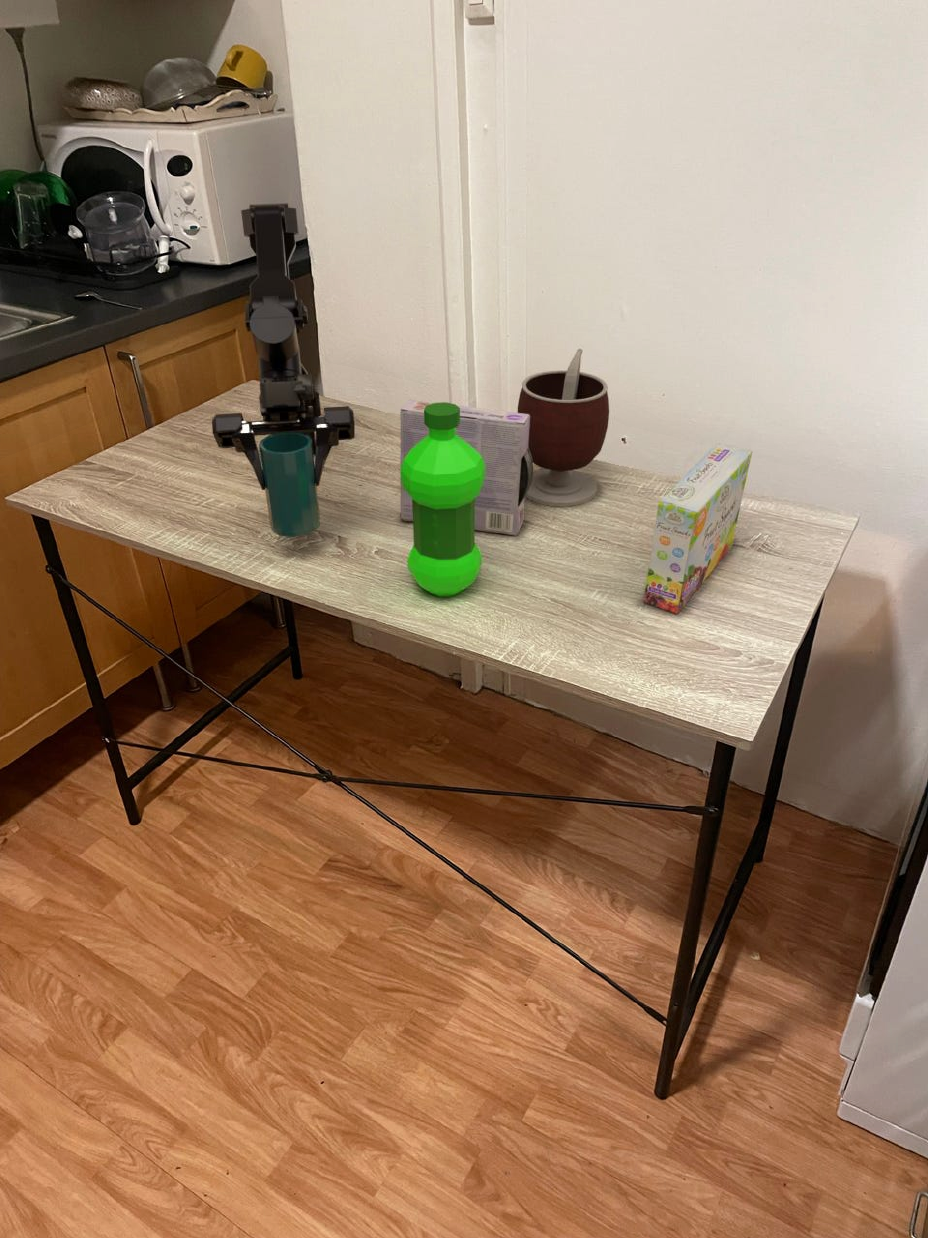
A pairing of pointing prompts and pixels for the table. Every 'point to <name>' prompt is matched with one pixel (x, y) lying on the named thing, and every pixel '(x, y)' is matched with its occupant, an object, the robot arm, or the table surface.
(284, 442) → the teal and beige cup
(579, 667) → the table surface
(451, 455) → the plastic bottle
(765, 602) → the table surface
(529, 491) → the mate gourd
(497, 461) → the cake pan box
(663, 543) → the snack box
